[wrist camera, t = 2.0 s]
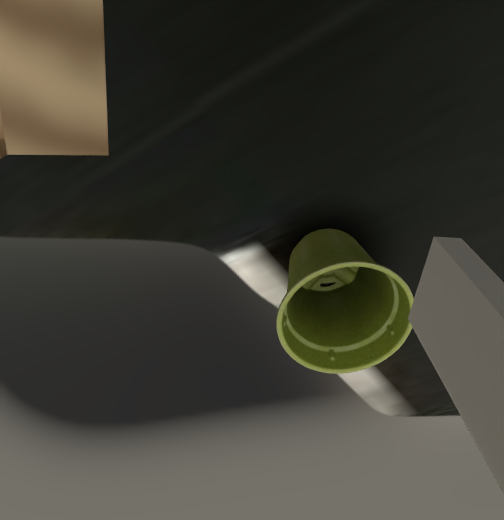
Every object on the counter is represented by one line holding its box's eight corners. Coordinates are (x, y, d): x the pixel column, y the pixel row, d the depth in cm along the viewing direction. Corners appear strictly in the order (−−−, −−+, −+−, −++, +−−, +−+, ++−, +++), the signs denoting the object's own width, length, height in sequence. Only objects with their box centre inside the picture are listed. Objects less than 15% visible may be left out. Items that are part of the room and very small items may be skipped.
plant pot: (259, 220, 36) (265, 278, 29) (377, 197, 35) (414, 251, 28) (279, 312, 41) (288, 382, 33) (383, 294, 40) (416, 361, 33)
